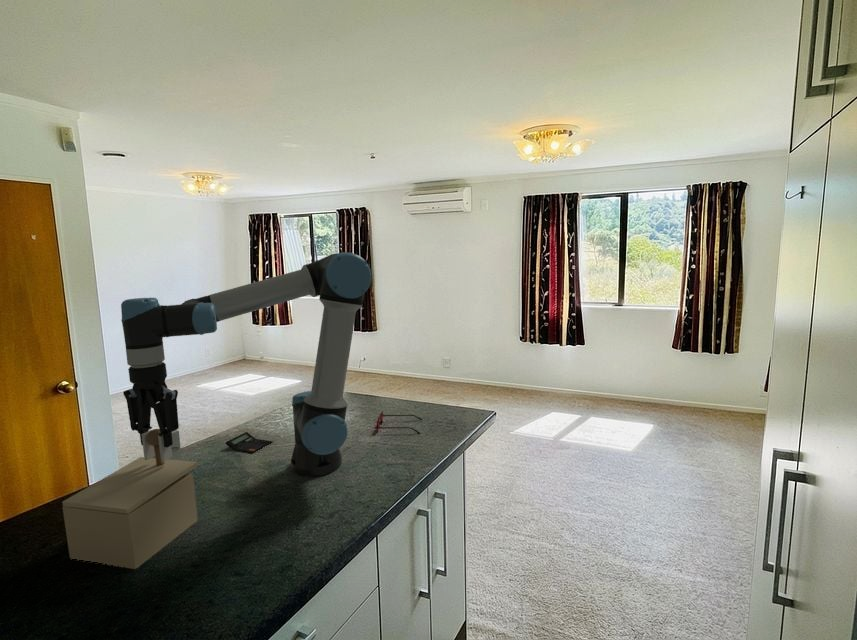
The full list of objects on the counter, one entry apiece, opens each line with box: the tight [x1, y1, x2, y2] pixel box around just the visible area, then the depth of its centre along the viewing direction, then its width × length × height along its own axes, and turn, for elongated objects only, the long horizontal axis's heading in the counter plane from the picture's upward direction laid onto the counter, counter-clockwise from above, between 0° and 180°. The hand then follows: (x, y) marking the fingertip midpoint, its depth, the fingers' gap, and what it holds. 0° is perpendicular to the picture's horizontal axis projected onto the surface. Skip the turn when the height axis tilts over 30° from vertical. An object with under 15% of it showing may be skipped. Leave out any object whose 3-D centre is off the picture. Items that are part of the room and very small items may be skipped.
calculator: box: [225, 431, 274, 454], centre depth 157 cm, size 9×12×3 cm
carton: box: [62, 473, 198, 570], centre depth 105 cm, size 17×18×12 cm
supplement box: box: [153, 428, 183, 461], centre depth 138 cm, size 7×7×13 cm
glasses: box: [374, 410, 423, 435], centre depth 170 cm, size 14×16×5 cm
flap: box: [62, 428, 198, 514], centre depth 104 cm, size 17×20×10 cm
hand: (158, 458), depth 111 cm, fingers closed on flap, 4 cm apart
